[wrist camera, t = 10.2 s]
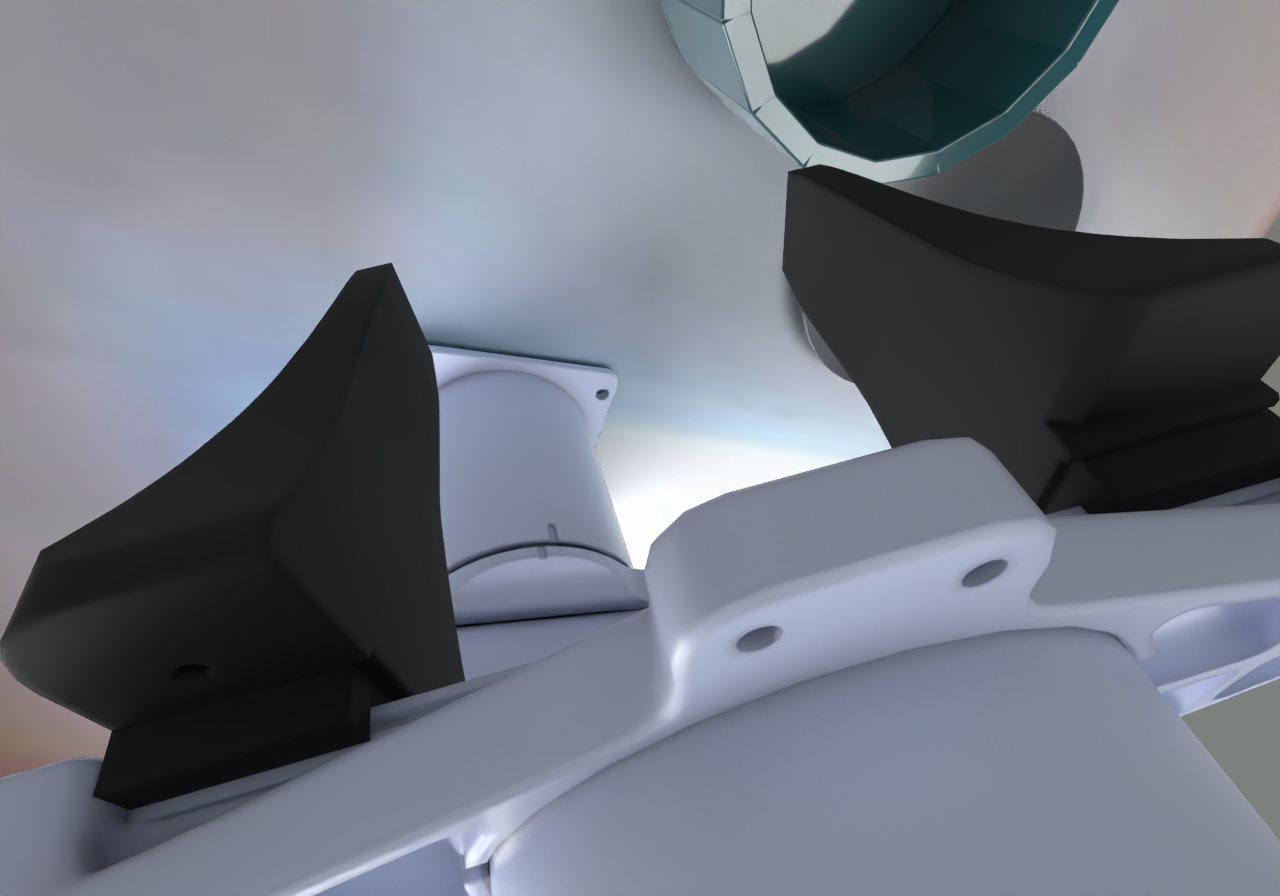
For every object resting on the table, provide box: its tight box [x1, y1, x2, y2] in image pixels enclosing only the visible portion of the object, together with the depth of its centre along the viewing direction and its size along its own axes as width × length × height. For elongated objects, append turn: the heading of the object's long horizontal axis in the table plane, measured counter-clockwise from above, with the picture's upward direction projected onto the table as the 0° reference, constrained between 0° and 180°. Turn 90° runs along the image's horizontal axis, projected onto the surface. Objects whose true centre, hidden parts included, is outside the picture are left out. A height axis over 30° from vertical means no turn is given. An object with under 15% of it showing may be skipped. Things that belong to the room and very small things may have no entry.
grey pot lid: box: [801, 110, 1084, 383], centre depth 25 cm, size 11×11×5 cm
